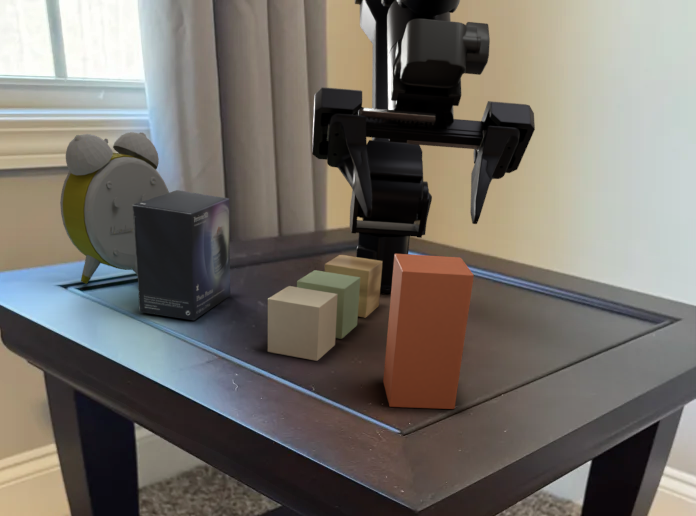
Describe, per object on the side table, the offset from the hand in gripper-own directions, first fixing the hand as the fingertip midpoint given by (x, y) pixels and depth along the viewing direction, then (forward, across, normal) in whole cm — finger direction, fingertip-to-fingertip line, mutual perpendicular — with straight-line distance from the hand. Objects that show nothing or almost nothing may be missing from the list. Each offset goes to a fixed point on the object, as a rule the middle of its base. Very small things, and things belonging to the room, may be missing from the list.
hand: (422, 217), depth 65 cm
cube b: (+2, -7, +16) cm, 18 cm away
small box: (-2, -22, +20) cm, 30 cm away
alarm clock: (-7, -29, +26) cm, 40 cm away
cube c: (+7, -10, +12) cm, 17 cm away
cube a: (-3, -4, +21) cm, 22 cm away
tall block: (+14, 0, +4) cm, 15 cm away
